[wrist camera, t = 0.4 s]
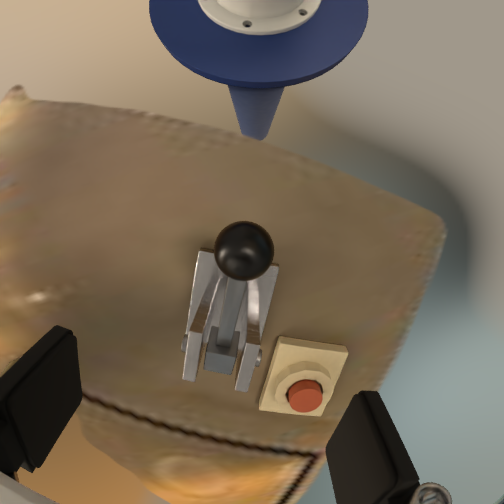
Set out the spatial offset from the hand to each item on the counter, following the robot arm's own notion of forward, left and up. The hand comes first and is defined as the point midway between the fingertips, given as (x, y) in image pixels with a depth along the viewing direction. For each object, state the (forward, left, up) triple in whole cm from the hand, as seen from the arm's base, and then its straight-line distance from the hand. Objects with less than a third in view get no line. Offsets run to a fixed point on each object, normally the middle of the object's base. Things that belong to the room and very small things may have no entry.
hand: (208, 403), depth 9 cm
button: (+14, +10, -20) cm, 26 cm away
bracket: (+6, 0, -23) cm, 24 cm away
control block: (+14, +10, -23) cm, 29 cm away
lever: (+1, 0, -12) cm, 12 cm away
